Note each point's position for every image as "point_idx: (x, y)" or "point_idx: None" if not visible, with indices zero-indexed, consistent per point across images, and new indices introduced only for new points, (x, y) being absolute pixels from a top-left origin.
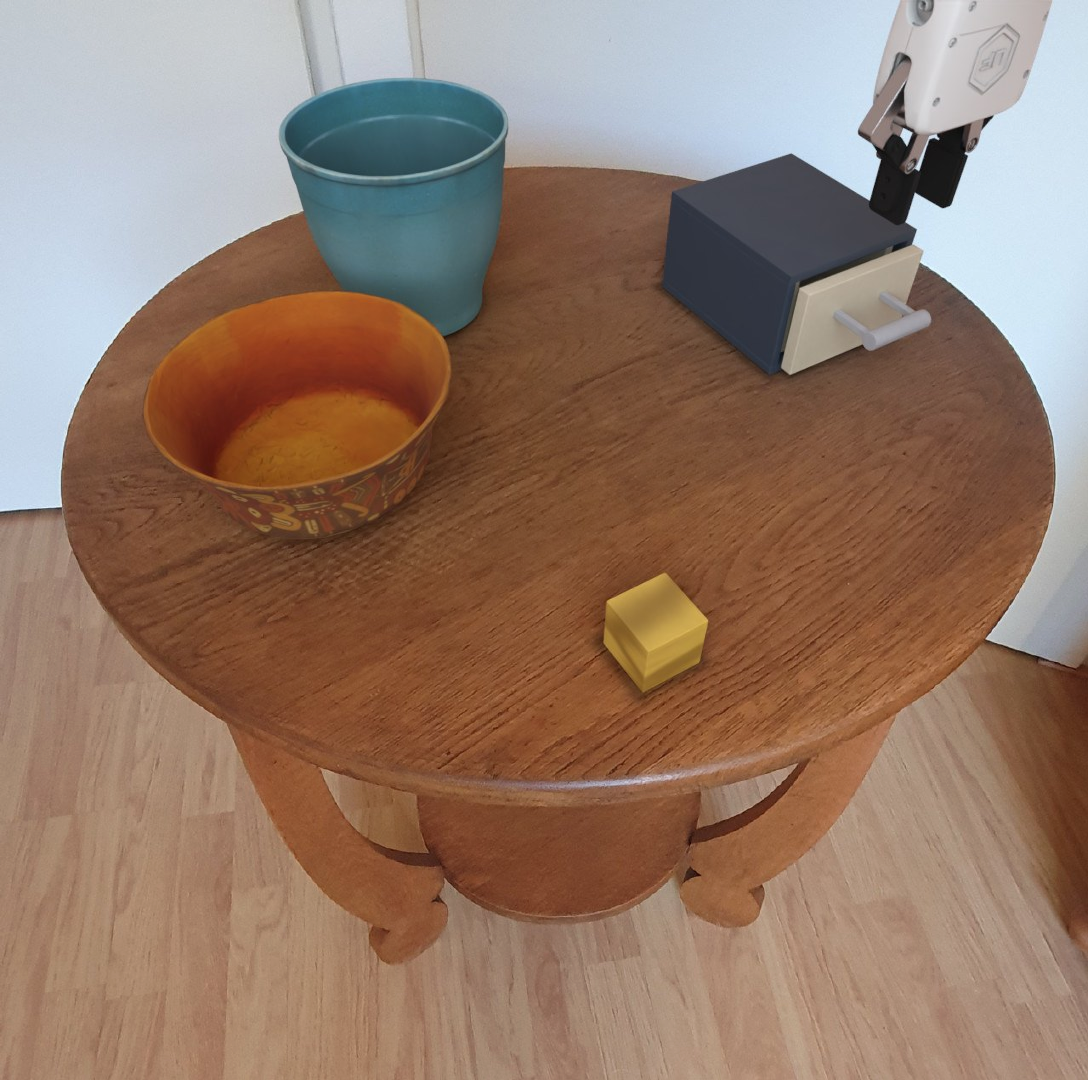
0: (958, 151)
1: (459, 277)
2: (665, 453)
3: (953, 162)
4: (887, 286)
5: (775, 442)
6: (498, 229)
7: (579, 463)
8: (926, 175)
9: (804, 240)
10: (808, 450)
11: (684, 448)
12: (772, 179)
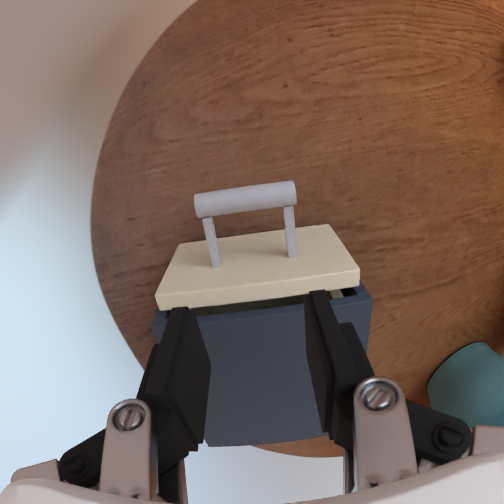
0: (159, 411)
1: (491, 368)
2: (456, 190)
3: (180, 389)
4: (209, 271)
5: (385, 156)
6: (462, 402)
7: (494, 210)
8: (203, 383)
9: (303, 353)
10: (366, 132)
11: (444, 187)
12: (253, 430)
